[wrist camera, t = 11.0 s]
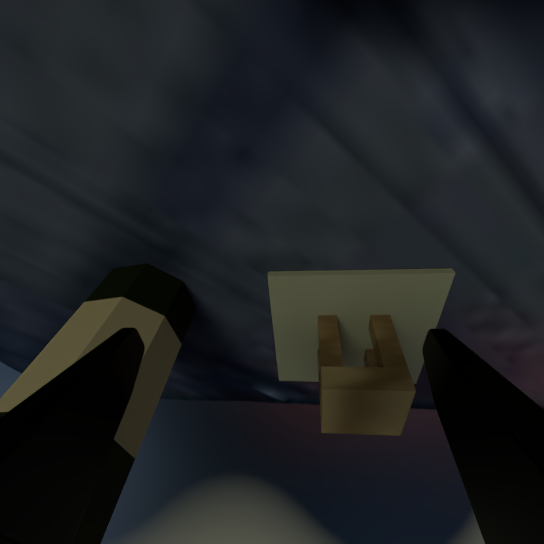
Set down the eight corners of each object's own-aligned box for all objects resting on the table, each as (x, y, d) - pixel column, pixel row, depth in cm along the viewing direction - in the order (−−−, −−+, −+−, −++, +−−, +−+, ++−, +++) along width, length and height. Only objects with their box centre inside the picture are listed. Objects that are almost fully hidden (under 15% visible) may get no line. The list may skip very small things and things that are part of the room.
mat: (452, 268, 22) (455, 273, 22) (414, 378, 31) (416, 383, 30) (268, 271, 24) (267, 276, 23) (279, 375, 32) (279, 380, 32)
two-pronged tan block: (389, 314, 25) (415, 391, 19) (380, 359, 28) (400, 435, 23) (317, 315, 26) (322, 389, 20) (317, 359, 29) (321, 432, 23)
